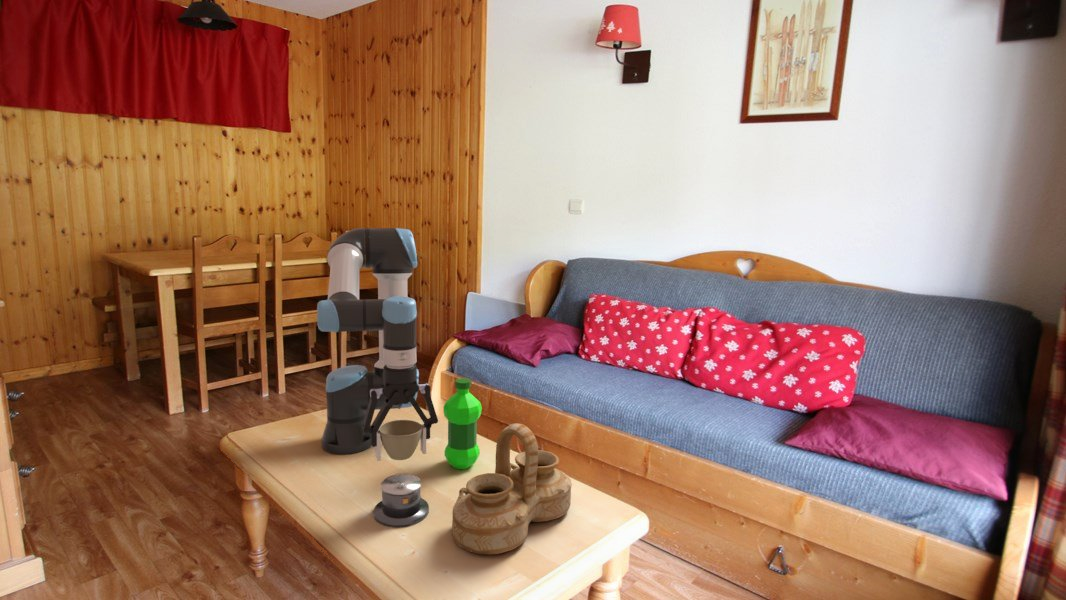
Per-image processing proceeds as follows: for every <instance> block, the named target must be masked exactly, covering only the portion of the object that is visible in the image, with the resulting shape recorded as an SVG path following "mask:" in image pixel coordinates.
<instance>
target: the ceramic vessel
mask: <svg viewBox="0 0 1066 600" xmlns="http://www.w3.org/2000/svg"><path fill="white" fill-rule="evenodd" d="M513 436H516V437H517V438H518V439H519V440H520V441H521V443H522V444H523V445H522V446H523V449H524V451H522V452H520V453H518V454H516V456H515V457H514V461H515V464H514V463H511V443H512V438H513ZM495 445H496V446H495V448H496V449H495V467H494V469H495V470H494V473H491V472H490V473H488V472H487V473H482V474H477V475H475V476H473V477H471V478H470V479H469V480H468V481H467V482H466V484H465V487H462V488H460V489H459V491H458V497H457V499H456V500H455V501H456V502H455V503H454V505H453V506H452V507H453V508H452V522H451V523H452V524H451V525H452V526H451V533H452V538H453V539H454V542H455V543H456V544H457V546H459V547H460V548H463V549H464V550H466V551H468V552H471V553H475V554H479V555H496V554H502V553H506V552H509V551H512V550H514V549H516V548H517V547H519V546H521V545H522V544H523V543H524V542H525V541H526V539H527V537H528V534H529V525H530V523H531V522H536V523H539V522H548V521H552V520H556V519H558V518H561V517H562V516H564V515H566V513H567V512H568V511H569V509H570V507H571V503H572V502H571V499H572V498H571V497H572V485H573V484H572V480H571V478H570V476H569V475H567V473H564V472H563V471H562V470H560V469H558V468H556V467H558V466H559V463H560V458H559V457H558V456H557V454H555V453H553V452H552V451H545V450H542V449H539V445H538V441H537V437H536V436H535V434H534V433H533V431H532V430H531V429H530V428H529V427H528V426H526V425H525V424H523V423H518V422H517V423H511V424H510V425H509V424H508V426H506V427H504V429H502V431H501V432H500V434H499V436H498V438H497V441H496V444H495Z"/></svg>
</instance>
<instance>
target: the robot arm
mask: <svg viewBox="0 0 1066 600" xmlns="http://www.w3.org/2000/svg"><path fill="white" fill-rule="evenodd" d="M417 258H418V256H417V249H416V243H415V239H414V235H413V232H412V230H410V229H408V228H407V229H406V228H399V227H398V228H397V227H395V228H394V227H393V228H392V227H391V228H390V227H389V228H387V227H385V228H384V227H383V228H381V227H379V228H377V227H373V228H372V227H371V228H368V227H367V228H366V227H359V228H358V227H357V228H354V229H351V230H348V231H346V232H344V233H343V234H341V235H339V236H338V237H337V238H336V239H335V240H333V242H332V243H331V245H330V246H329V249H328V252H327V260H326V261H327V264H328V266H329V267H330V270H329V271H330V272H329V282H328V291H327V299H325V300H319V301H318V302H317V306H316V311H317V312H316V320H317V321H316V323H317V327H318V328H317V329H318V330H319V331H320V332H331V333H340V332H341V333H343V332H362V331H366V332H369V331H370V332H371V331H373V332H374V331H378V350H379V353H378V354H379V355H378V357H379V358H378V360H377V361H376V362H375V363H374V365H373V367H374V368H373V369H374V370H368V368H367V367H366V366H365V365H361V364H360V365H359V364H353V365H345V366H341V367H339V368H336V369H333V370H332V371H330V372H329V373H328V374H327V376H326V379H325V382H326V383H325V392H326V423H325V427H324V430H323V434H322V437H321V448H322V449H323V450H324V451H326V452H328V453H331V454H335V455H336V454H338V455H346V454H348V455H349V454H355V453H356V454H357V453H359V452H363V451H366V450H367V449H369V448H371V447H375V451H374V452H375V453H374V454H375V458H376V460H377V462H378V461H381V460H382V455H381V454H382V453H381V452H382V451H381V446H382V444H381V443H382V442H381V438H380V432H379V428H380V426H381V425H382V424H383V422H384V421H385V419H386V417H387V415H388V413H389V412H390V410H392V409H397V410H401V409H406V408H411V407H413V409H414V411H416V413H417V414H418V416H419V417H420V420H421V421H422V423H420V424H421V425H422V433H421V437H420V440H419V442H420V443H419V444H420V451H421V453H422V454H423V455H426V454H427V440H429V439H430V438H431V428H432V425H434V424H438V422H439V419H438V416H437V412H436V409H435V406H434V403H433V400H432V397H431V386H430V385H429V383H428V382H424V383H423V384H419V376H420V372H419V369H418V367H417V364H416V363H417V362H418V361H417V317H418V312H417V303H416V300H415V299H414V298H412V297H409V296H408V293H409V292H408V279H409V278H410V277H411V276H412V275H413V269H416V268H417V266H418V259H417ZM362 268H365V269H371V270H372V275H373V277H375V278H376V279H377V295H378V296H377V299H376V298H375V299H373V298H372V299H370V298H369V299H368V298H367V299H360V270H361V269H362ZM418 391H420V393H421V394H422V395H423V398H424V402H425V404H426V408H427V411H428V414H429V417H427V416H426V414H425V413H424V411H423V410H422V408H421V407H420V405H419V403H418V402H417V397H418ZM376 410H379V411H378V413H377V414H376V416H375V418H374V414H375V411H376ZM373 418H374V420H373Z"/></svg>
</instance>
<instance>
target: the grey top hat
mask: <svg viewBox="0 0 1066 600" xmlns="http://www.w3.org/2000/svg"><path fill="white" fill-rule="evenodd" d="M421 486H422V480H421V479H420V478H419V477H418V476H417V475H413V474H410V473H409V474H407V473H399V474H398V473H397V474H393V475H390V476H387V477H386V478H384V479H383V480H382V481H381V484H380V488H381V489H380V490H381V500H380V501H378V503H377V504H376V505H375V506H374V508H373V518H374V520H375V521H376V522H377V523H379V524H380V525H382V526H384V527H390V528H405V527H410V526H413V525H416V524H418V523H420V522H422V521H423V520H425V519H426V518H427V516H428V515H429V511H430V509H429V507H430V505H429V503H428V501H426V499H424V498H423V497H421Z"/></svg>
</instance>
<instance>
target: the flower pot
mask: <svg viewBox="0 0 1066 600" xmlns="http://www.w3.org/2000/svg"><path fill="white" fill-rule="evenodd" d="M421 424H422V423H420V422H418V421H415V420H411V419H394V420H389V421H387V422H384V423H382V424H381V426H380V428H379V432H380V443H382V444H381V445H382V446H383V448H384V450H385V453H386V454H387V455H388V456H389V458H390V459H392V460H394V461H405V460H408V459H410V458H411V457H412V456H413V454H414V453H415V451H416V449H417V447H418V445H419V444H420V443H419V442H420V437H421V433H422V425H421Z"/></svg>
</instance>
